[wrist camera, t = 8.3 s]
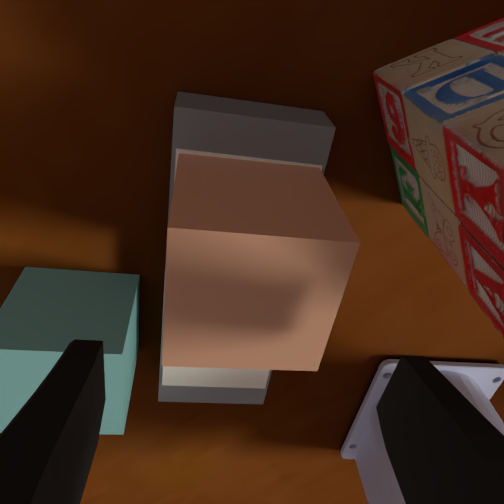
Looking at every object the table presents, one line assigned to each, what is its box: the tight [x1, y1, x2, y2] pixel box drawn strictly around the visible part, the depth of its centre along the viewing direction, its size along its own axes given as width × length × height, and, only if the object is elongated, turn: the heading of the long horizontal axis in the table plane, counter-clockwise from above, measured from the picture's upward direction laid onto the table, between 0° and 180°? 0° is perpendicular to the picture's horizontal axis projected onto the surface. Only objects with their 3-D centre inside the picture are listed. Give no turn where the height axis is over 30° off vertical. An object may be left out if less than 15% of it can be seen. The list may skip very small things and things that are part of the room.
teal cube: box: [0, 267, 140, 435], centre depth 19 cm, size 5×5×5 cm
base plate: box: [158, 91, 336, 404], centre depth 19 cm, size 15×6×2 cm, turn 171°
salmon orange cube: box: [162, 153, 360, 371], centre depth 14 cm, size 5×5×5 cm
